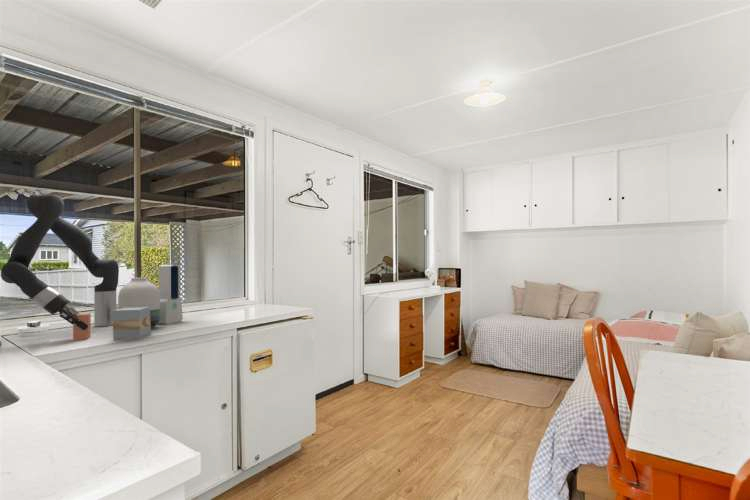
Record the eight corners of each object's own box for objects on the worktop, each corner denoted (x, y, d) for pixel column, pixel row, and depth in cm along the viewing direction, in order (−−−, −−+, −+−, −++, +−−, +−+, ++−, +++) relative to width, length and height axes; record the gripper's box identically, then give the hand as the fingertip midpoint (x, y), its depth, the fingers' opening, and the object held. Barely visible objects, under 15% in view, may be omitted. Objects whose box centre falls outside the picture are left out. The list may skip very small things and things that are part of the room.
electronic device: (166, 324, 193) (165, 264, 194) (153, 324, 194) (152, 265, 195) (183, 321, 205) (182, 264, 206) (170, 320, 206) (170, 264, 207)
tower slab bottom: (125, 335, 166) (125, 326, 166) (150, 334, 168) (150, 325, 168) (113, 340, 156) (113, 330, 156) (139, 339, 158) (139, 329, 158)
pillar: (75, 338, 161) (76, 314, 162) (90, 336, 164) (90, 313, 164) (73, 340, 157) (73, 315, 157) (88, 338, 159) (88, 314, 159)
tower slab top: (124, 317, 166) (124, 307, 166) (149, 316, 167) (149, 306, 168) (112, 320, 156) (112, 310, 156) (139, 319, 158) (139, 309, 158)
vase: (124, 327, 188) (124, 277, 189) (163, 324, 193) (163, 276, 194) (112, 333, 172) (112, 279, 173) (155, 330, 177) (155, 277, 178)
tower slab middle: (125, 326, 166) (125, 317, 166) (150, 325, 167) (150, 316, 168) (113, 330, 156) (113, 320, 156) (139, 329, 158) (139, 319, 158)
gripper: (54, 294, 151) (92, 322, 156) (63, 292, 164) (98, 318, 169) (37, 309, 148) (76, 337, 154) (47, 305, 161) (83, 332, 166)
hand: (87, 327), depth 161 cm, fingers closed on pillar, 5 cm apart
